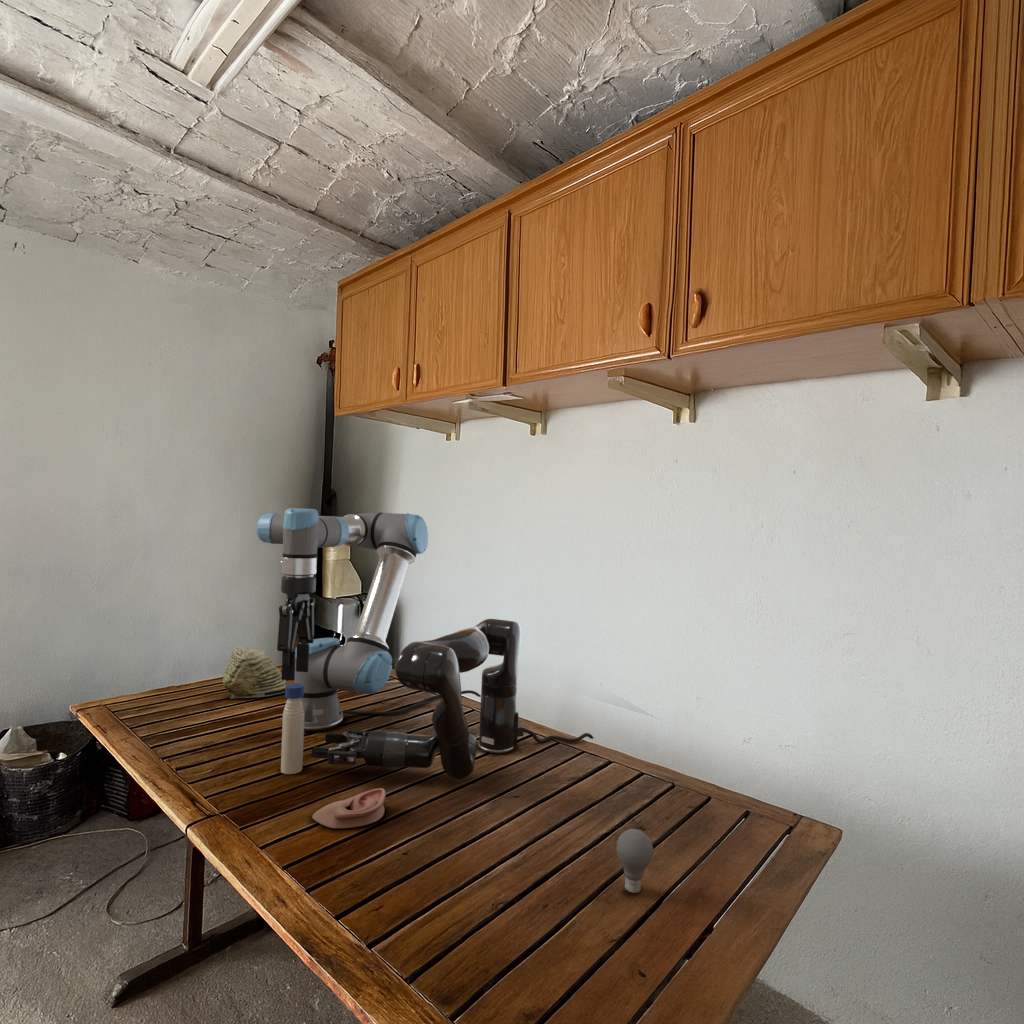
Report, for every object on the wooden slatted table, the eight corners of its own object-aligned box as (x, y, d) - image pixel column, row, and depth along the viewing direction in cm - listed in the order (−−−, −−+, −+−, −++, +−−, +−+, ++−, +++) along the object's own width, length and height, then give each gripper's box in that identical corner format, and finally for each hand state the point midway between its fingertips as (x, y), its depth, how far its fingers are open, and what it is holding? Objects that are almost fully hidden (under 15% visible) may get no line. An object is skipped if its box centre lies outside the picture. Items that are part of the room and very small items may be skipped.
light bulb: (610, 879, 108) (613, 822, 108) (644, 879, 109) (647, 822, 109) (619, 902, 102) (622, 840, 102) (655, 901, 103) (658, 840, 103)
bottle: (306, 770, 146) (309, 688, 146) (286, 776, 143) (289, 691, 142) (296, 763, 150) (299, 683, 149) (276, 769, 146) (280, 686, 146)
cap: (306, 696, 146) (307, 686, 146) (290, 700, 143) (290, 689, 143) (298, 692, 149) (298, 682, 149) (281, 695, 146) (282, 685, 146)
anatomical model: (304, 803, 122) (333, 778, 133) (303, 824, 122) (332, 797, 133) (368, 813, 119) (392, 787, 131) (368, 834, 119) (391, 806, 131)
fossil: (218, 695, 195) (220, 647, 195) (278, 685, 208) (279, 640, 207) (228, 703, 189) (230, 653, 188) (289, 692, 201) (290, 645, 201)
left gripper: (302, 570, 155) (298, 663, 156) (262, 579, 136) (258, 686, 137) (331, 571, 154) (327, 665, 155) (295, 581, 135) (291, 689, 136)
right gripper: (396, 721, 152) (330, 717, 152) (381, 744, 137) (308, 740, 138) (395, 753, 152) (329, 748, 153) (380, 779, 138) (306, 774, 138)
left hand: (295, 675), depth 146 cm, fingers open, 6 cm apart
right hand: (319, 744), depth 145 cm, fingers open, 8 cm apart
